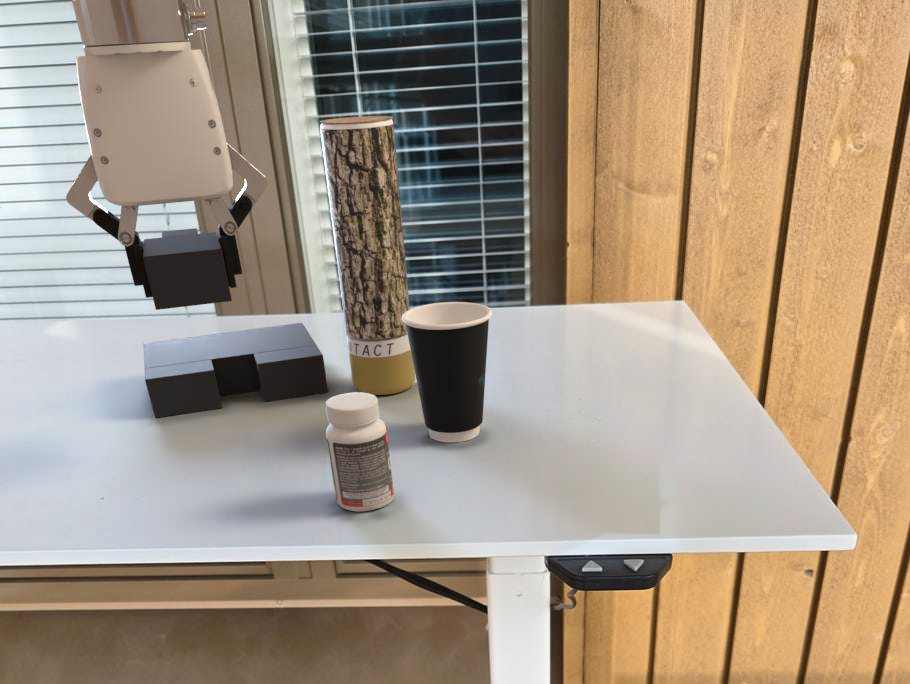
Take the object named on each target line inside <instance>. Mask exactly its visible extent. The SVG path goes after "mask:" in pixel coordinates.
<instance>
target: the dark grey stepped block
mask: <svg viewBox="0 0 910 684" xmlns="http://www.w3.org/2000/svg"><path fill="white" fill-rule="evenodd" d="M217 234H218V233H217V232H216V231H213V232H202V233H199V231H198V229H197V228H186V229H185V228H184V229H177V230H176V229H175V230H174V229H173V230H164V231H161V237H153V238H143V242H144V251H143V259H144V263H145V268H146V272H147V276H148V280H149V284H150V288H151V292H152V296H153V297H152V300H153V304H154V308H155V310H156V311H159V310H166V309H167V310H169V309H176V308H177V309H178V308H182V307H192V306H193V307H194V306H201V305H208V304H209V305H210V304H218V303H226V302H232V301H233V300H232V295H231V290H230V289H231V288H230V287H229V284H228V279H227V274H226V268H225V263H224V258H223V253H222V249H221V246H220V243H219V241H218V238H217Z"/></svg>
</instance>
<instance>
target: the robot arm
mask: <svg viewBox="0 0 910 684" xmlns="http://www.w3.org/2000/svg"><path fill="white" fill-rule="evenodd" d="M71 3H72V8H73V11H74V15H75V20H76V23H77V27H78V31H79V36H80V39H81V43H82V46H83V52H84V55H76V57H75V61H76V75H77V82H78V91H79V97H80V102H81V109H82V114H83V121H84V126H85V131H86V135H87V140H88V145H89V149H90V155H89V156H88V159H87V160H86V162H85V163H84V165H83V167H82V168H81V170H80V172H79V173H78V175H77V177H76V178H75V180H74V182H73V183H72V185H71V187H70V188H69V190H68V192H67V193H66V196H65V200H66V202H67V203H68V204H69V205H70V206H71V207H73V208H74V209H75V210H77V211H78V212H79V213H81V214H82V215H84V217H86V218H88V219H89V220H90V221H92V222H93V223H94V224H95V225H96V226H98V227H99V228H101V229H102V230H103V231H105V232H106V233H107V234H109V235H110V236H112V237H113V238H114V239H115V240H117V241H118V242H119V243H120V245H122V246H124V250H125V254H126V258H127V261H128V266H129V269H130V275H131V277H132V281H133V284H134V286H135V287H138V286H143V291H144V295H145V298H148V299H149V298H153V296H152V292H151V288H150V284H149V280H148V276H147V272H146V268H145V263H144V259H143V251H144V240H141V238H140V233H139V232H137V231H136V229H137V222H138V221H137V220H138V214H139V207H140V206H153V205H163V204H164V205H165V204H175V203H187V202H196V201H205V202H206V204H207V206H208V207H209V210H210V211H211V212H212V214H213V216H214V217H215V219H216V221H217V222H218V224H217V230H218V233H216V234H217V238H218V241H219V243H220V246H221V249H222V253H223V258H224V263H225V268H226V274H227V279H228V284H229V289H235V288H237V287H238V286H237V282H236V276H237V275H243V268H242V264H241V259H240V253H239V248H238V244H237V243H238V242H237V238H236V235H237V233H238V230H239V228H240V226H241V225H242V224H243V223H244V221H245V220H246V218H247V217H248V215H249V214H250V212H251V211H252V209H253V206H254V205H255V204H256V203H257V201H259V198H260V197H261V195H262V194H263V193H264V191H265V190H266V189H267V187H268V185H269V181H268V178H267V177H266V176H265V175H264V173H262V172H261V171H260V170H259V169H258V168H256V167H255V166H254V165H253V164H252V163H251V162H250V161H248V159H246V158H245V157H244V156H243V155H241V154H240V153H239V152H238V151H237V150H236V149H235V148H233V146H231V145H230V144H229V143H228V142H227V137H226V133H225V128H224V124H223V119H222V115H221V111H220V107H219V103H218V99H217V95H216V93H215V89H214V86H213V81H212V77H211V74H210V71H209V68H208V65H207V63H206V59H205V56H204V54H203V51H202V49H201V48H200V49H192V46H191V41H190V40H191V38H190V35H193V32H198V30H204V29H205V30H207V29H208V23H207V18H206V17H207V16H206V12H205V8H204V6H193V5H194V4H188V2H187V1H183V0H71ZM233 171H235V172H236V173H237V174H238V175H239V176H240V177H241V178H243V180H244V186H243V188H242V189H241V191H240V192H239V194H238V195H237V196H236V197H235V199H234V200H233V202H232V203H231V205H229V208H228V205H227V204H226V202H225V201H224V199H223V197H224V196H227V194H229V193H230V192H231V191H232V189H233V187H234V177H233V176H234V175H233ZM97 182H98V186H99V188H100V190H101V193H102V195H103V197H104V199H105V200H106V201H107V202H109V203H110V204H113V205H115V206H120V207H121V208H120V215H119V217H117V216H116V215H115V214H114V213H112V212H111V211H110V210H108V209H107V208H105V206H104V207H103V206H102V205H100V204H99V203H98V202H97V201H96V200H94V199H93V198H92V195H91V192H92V190H93V189H94V186H95V185H96V183H97Z"/></svg>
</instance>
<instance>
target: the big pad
mask: <svg viewBox="0 0 910 684" xmlns="http://www.w3.org/2000/svg"><path fill="white" fill-rule="evenodd" d="M142 346H143V363H144V365H143V366H144V381H145V384H146V388H147V392H148V396H149V400H150V403H151V408H152V411H153V415H154V418H155V419H158V418H166V417H172V416H179V415H185V414H193V413H199V412H205V411H211V410H212V411H213V410H217V409H219V410H220V409H223V404H222V400H221V397H222V396H223V397H224V396H230V395H231V396H232V395H236V394H243V393H250V392H257V391H260V393H261V395H262V398H263V401H264V402H273V401H278V400H286V399H292V398H298V397H304V396H305V397H306V396H311V395H318V394H325V393H329V388H328V381H327V373H326V366H325V359H324V354H323V353H322V352H321V350H320V349H319V347H318V345H317V343H316V342H315V340H314V339H313V337H312V336H311V334H310V332H309V331H308V330H307V328H306V326H305V325H304V323H303V322H297V323H290V324H281V325H273V326H265V327H257V328H249V329H243V330H242V329H241V330H236V331H228V332H220V333H219V332H218V333H212V334H211V333H210V334H204V335H197V336H189V337H182V338H181V337H180V338H175V339H174V338H173V339H167V340H158V341H152V342H151V341H149V342H143V345H142Z"/></svg>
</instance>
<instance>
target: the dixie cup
mask: <svg viewBox="0 0 910 684" xmlns="http://www.w3.org/2000/svg"><path fill="white" fill-rule="evenodd" d="M492 316H493V312H492V309H491V308H490V307H488V306H487V305H483V304H480V303H475V302H467V301H446V302H445V301H444V302H434V303H428V304H422V305H418V306H416V307H412V308H410V310H408V311H406V312H405V313H404V314H403V315H402V321H403V322H404V323H405V324H406V328H407V334H408V339H409V344H410V349H411V354H412V359H413V364H414V370H415V381H416V384H417V391H418V394H419V399H420V405H421V410H422V415H423V420H424V421H423V422H424V424H425V427H426V428H427V430H428V434H429V438H431V439H432V440H434V441H437V442H441V443H461V442H462V443H463V442H466V441H471V440H473V439H475V438H476V437H478V436H479V435H480V431H481V424H483V420H484V404H485V403H484V401H485V387H486V373H487V372H486V371H487V370H486V369H487V357H488V356H487V355H488V340H489V339H488V338H489V325H490V324H489V322H490V319H491V318H492Z"/></svg>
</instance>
